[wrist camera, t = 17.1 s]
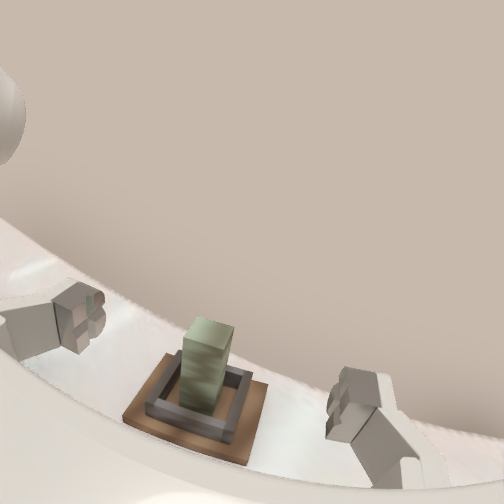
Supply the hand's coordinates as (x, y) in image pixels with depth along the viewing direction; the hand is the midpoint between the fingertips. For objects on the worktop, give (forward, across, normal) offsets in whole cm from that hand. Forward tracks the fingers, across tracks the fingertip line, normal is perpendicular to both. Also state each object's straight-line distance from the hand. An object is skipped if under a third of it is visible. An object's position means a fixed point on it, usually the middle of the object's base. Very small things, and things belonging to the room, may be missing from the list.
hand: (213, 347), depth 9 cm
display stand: (+19, +4, +28) cm, 34 cm away
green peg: (+19, +4, +27) cm, 33 cm away
